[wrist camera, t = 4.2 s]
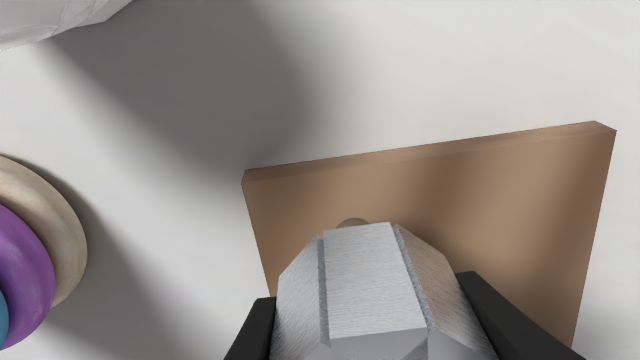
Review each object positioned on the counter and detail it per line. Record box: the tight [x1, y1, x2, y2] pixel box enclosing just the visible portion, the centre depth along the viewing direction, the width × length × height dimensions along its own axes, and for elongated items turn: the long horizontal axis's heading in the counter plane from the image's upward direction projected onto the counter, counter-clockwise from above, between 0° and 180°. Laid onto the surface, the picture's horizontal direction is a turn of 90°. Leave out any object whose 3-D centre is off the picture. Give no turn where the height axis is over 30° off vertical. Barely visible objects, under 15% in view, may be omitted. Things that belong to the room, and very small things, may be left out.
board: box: [241, 121, 617, 349], centre depth 16 cm, size 14×12×5 cm
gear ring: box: [269, 222, 499, 360], centre depth 11 cm, size 5×5×4 cm
